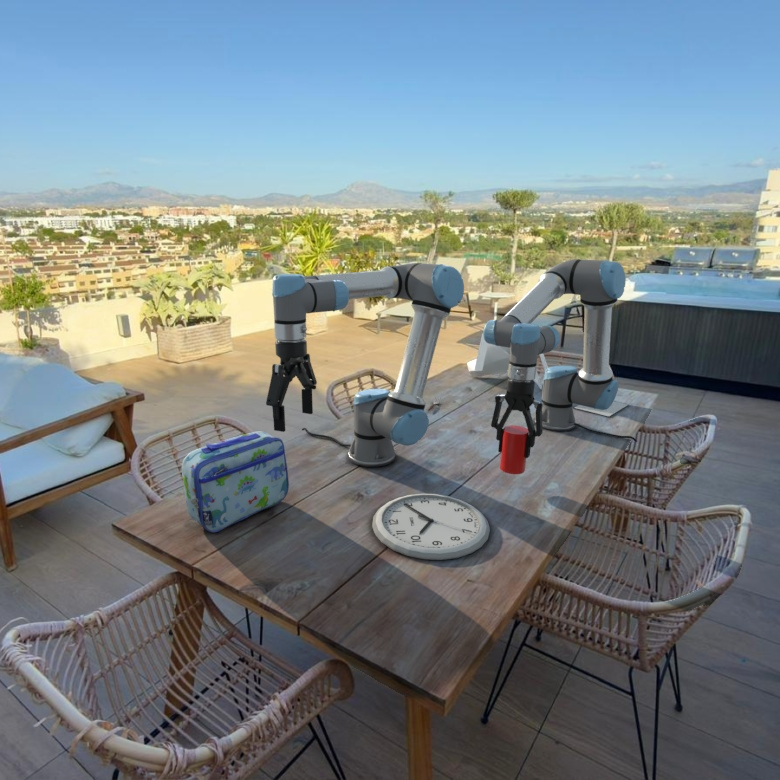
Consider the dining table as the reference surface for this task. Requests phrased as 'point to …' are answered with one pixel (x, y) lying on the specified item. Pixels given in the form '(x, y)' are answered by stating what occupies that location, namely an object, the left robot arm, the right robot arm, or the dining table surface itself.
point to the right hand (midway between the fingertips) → (514, 453)
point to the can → (514, 449)
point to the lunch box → (234, 479)
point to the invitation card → (608, 412)
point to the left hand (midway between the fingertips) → (294, 421)
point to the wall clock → (431, 526)
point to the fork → (434, 403)
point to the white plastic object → (495, 361)
